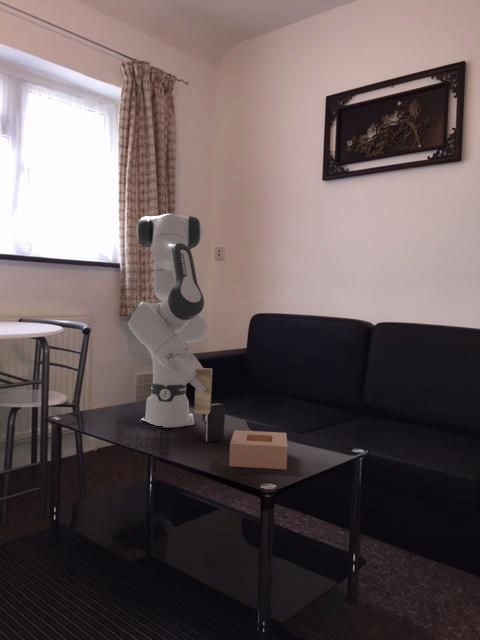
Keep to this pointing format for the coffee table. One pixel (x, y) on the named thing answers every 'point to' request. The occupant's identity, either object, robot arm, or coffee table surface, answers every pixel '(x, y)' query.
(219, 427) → the battery charger
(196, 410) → the maple pin
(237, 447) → the terracotta socket block
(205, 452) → the coffee table surface
